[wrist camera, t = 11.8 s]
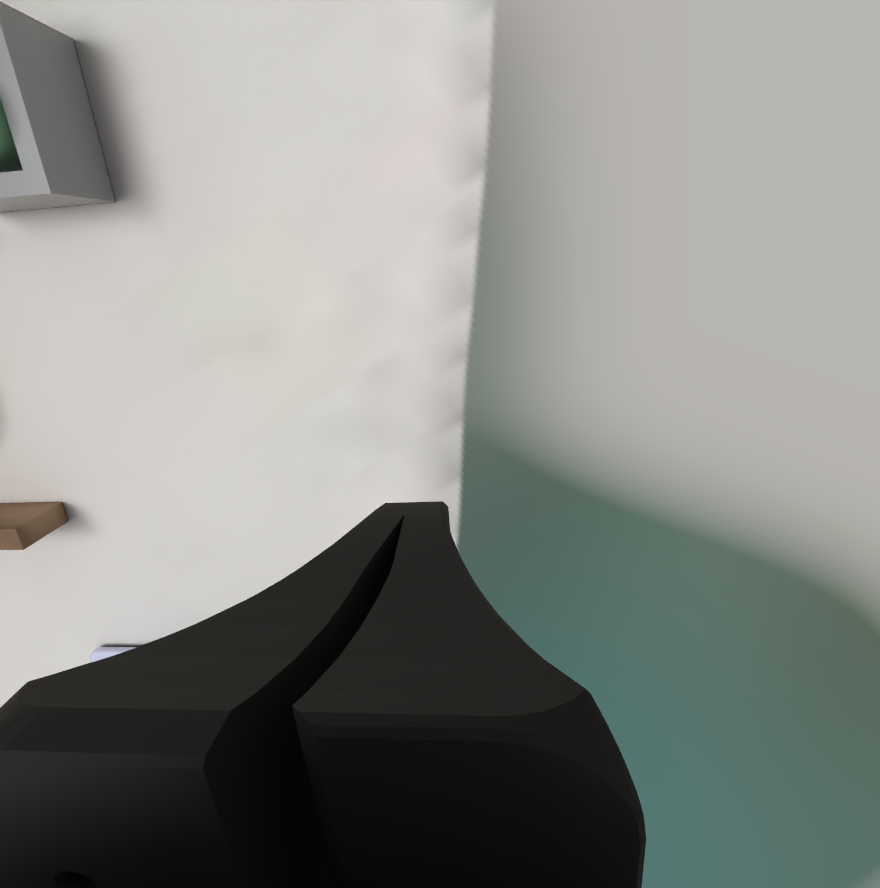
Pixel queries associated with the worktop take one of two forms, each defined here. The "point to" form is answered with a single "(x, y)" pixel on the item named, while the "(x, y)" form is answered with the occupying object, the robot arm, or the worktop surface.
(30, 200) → the button housing
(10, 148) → the button
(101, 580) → the worktop surface
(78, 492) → the worktop surface
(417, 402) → the worktop surface
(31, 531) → the walnut pocket
